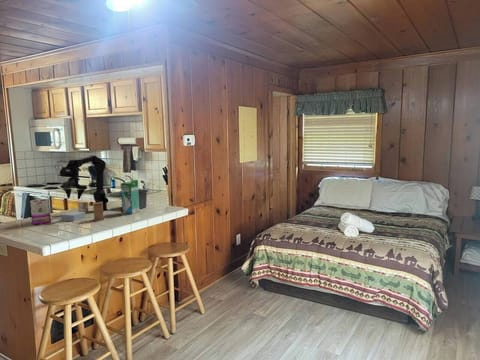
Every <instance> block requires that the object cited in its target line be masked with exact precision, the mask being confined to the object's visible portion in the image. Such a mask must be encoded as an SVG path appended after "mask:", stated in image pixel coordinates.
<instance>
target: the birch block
mask: <svg viewBox="0 0 480 360" xmlns="http://www.w3.org/2000/svg"><path fill="white" fill-rule="evenodd" d="M77 209H78V210H77V212H85V214H87V213H89V202H87V201H80V202H77Z"/></svg>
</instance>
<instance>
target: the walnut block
mask: <svg viewBox="0 0 480 360" xmlns="http://www.w3.org/2000/svg"><path fill="white" fill-rule="evenodd" d="M104 217H105V216H104V211H103V202H94V203H93V220H94V222H101V221H104V219H105V218H104Z"/></svg>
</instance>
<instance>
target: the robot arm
mask: <svg viewBox="0 0 480 360" xmlns="http://www.w3.org/2000/svg"><path fill="white" fill-rule="evenodd" d="M89 163H91V164H92V165H93V167H94V168H93V169H94V170H95V173H96V175H95V176H96V177H95V178H96V180H95V181H96V185H95V186H96V187H95V188H96V189H95V192H93V193H92V194H93V197H92V198H93V200H94V203H96V202H103V212H105V211H108V210H109V208H108V205H107V204H108V203H109V198H108V197H106V193H105V191H104V171H105V170H106V166H107V162H106V161H105V160H104V159H101V158H100V157H98V155H95V154H94V155H89V156H86V157H83V158H77V159H75V158H73V159H70V160H69V161H68V163H67V164H66V166H62V167H61V169H60V171H59V176H61V177H62V178H65V177H66V178H68V179H67V180H66V181H63V182H62V184H61V186H60V188H61V189H62V190H63V191H64V192H65V194H66V197H67V199H68V200H69V199H70V198H71V194H72V189H76V192H77V200H80V198H81V197H82V196H83V194H84V192H85V191H86V190H87V189H88V186H87V185H86V184H79V181H81V178H79V177H80V175H79V174H80V172H81V171H82V169H81V168H80V167H82V166H83V165H85V164H89Z"/></svg>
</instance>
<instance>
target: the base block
mask: <svg viewBox="0 0 480 360" xmlns="http://www.w3.org/2000/svg"><path fill="white" fill-rule="evenodd" d="M86 214H87V213H85V212H78V211H69V212H66V213H62V214H60V217H61V221H65V222H77V221H81V220H84V219H86V218H87V217H86V216H87V215H86Z"/></svg>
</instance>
